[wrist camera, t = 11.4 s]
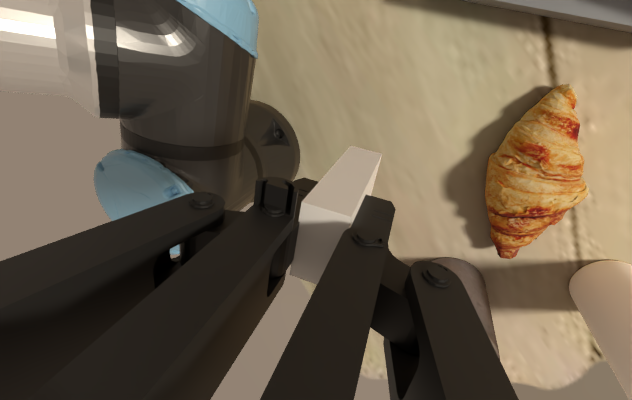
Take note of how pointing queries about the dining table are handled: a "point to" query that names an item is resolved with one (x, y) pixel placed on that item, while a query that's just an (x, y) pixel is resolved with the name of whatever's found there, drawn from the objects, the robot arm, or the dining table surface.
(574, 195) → the croissant
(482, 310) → the pillar candle
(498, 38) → the dining table surface
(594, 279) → the bottle
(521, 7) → the panel
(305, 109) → the dining table surface
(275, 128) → the robot arm
